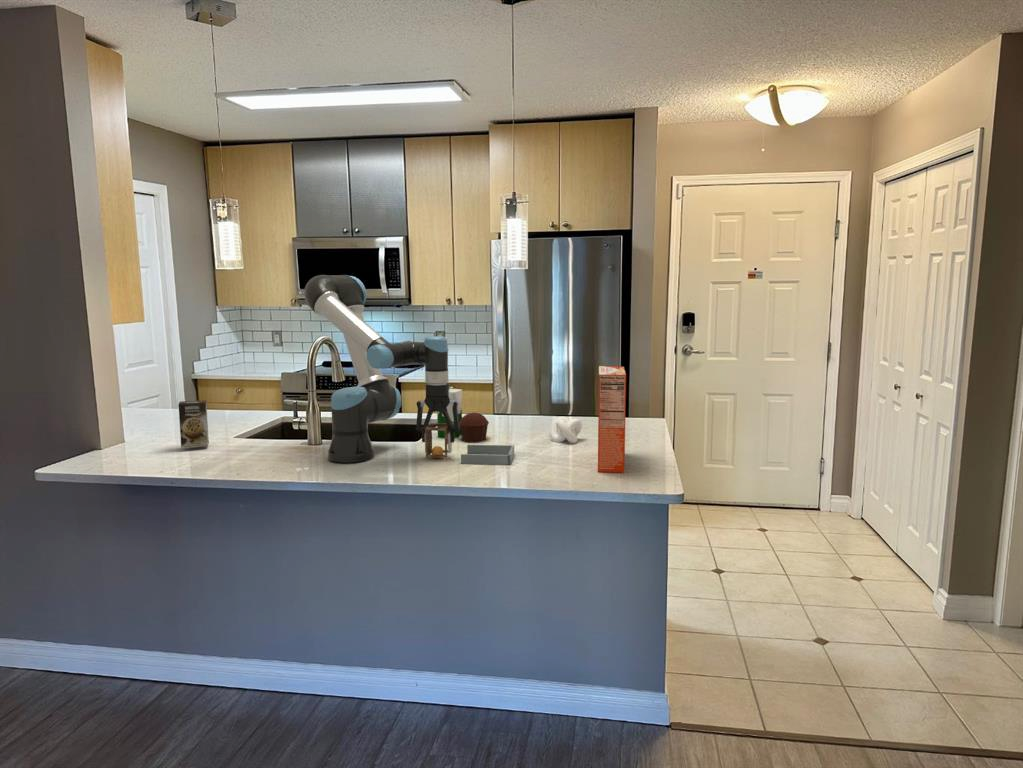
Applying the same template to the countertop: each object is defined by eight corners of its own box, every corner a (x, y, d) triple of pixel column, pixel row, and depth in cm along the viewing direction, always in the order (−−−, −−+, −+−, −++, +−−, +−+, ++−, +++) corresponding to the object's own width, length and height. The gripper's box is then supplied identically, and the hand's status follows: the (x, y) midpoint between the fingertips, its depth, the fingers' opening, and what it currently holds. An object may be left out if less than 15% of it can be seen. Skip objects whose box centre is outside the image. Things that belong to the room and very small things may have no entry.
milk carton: (443, 433, 263) (442, 382, 260) (465, 435, 260) (464, 383, 257) (434, 438, 255) (433, 385, 252) (456, 439, 252) (455, 386, 249)
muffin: (484, 444, 245) (484, 416, 243) (455, 442, 247) (454, 416, 246) (492, 437, 256) (491, 411, 255) (463, 436, 258) (463, 410, 257)
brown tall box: (180, 448, 240) (177, 403, 238) (182, 444, 246) (179, 401, 244) (208, 446, 244) (205, 402, 242) (209, 442, 250) (206, 399, 248)
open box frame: (425, 457, 221) (425, 427, 220) (430, 452, 228) (429, 423, 227) (446, 457, 221) (446, 427, 219) (450, 452, 228) (450, 423, 226)
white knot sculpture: (570, 437, 255) (570, 414, 254) (590, 443, 245) (590, 419, 244) (545, 441, 249) (545, 417, 248) (565, 447, 239) (565, 422, 238)
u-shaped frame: (460, 463, 217) (460, 454, 216) (467, 453, 231) (467, 444, 231) (510, 464, 215) (510, 455, 215) (514, 453, 229) (514, 445, 229)
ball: (430, 459, 223) (430, 447, 222) (433, 456, 227) (432, 444, 226) (442, 459, 223) (442, 447, 222) (444, 456, 226) (444, 444, 226)
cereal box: (597, 453, 229) (599, 366, 225) (622, 454, 228) (623, 366, 224) (597, 471, 207) (598, 374, 203) (624, 472, 206) (626, 374, 202)
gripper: (404, 385, 218) (406, 454, 222) (465, 385, 217) (466, 455, 220) (410, 381, 226) (411, 448, 229) (468, 382, 224) (469, 449, 227)
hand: (438, 451), depth 224 cm, fingers closed on open box frame, 7 cm apart
